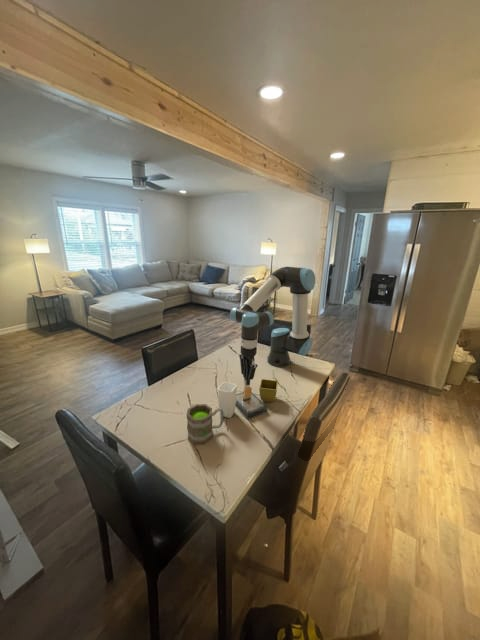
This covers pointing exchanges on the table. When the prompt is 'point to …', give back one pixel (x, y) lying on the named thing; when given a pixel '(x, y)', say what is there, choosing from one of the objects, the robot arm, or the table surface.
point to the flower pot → (268, 390)
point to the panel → (250, 405)
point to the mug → (201, 423)
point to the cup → (227, 398)
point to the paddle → (247, 393)
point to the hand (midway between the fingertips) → (246, 389)
